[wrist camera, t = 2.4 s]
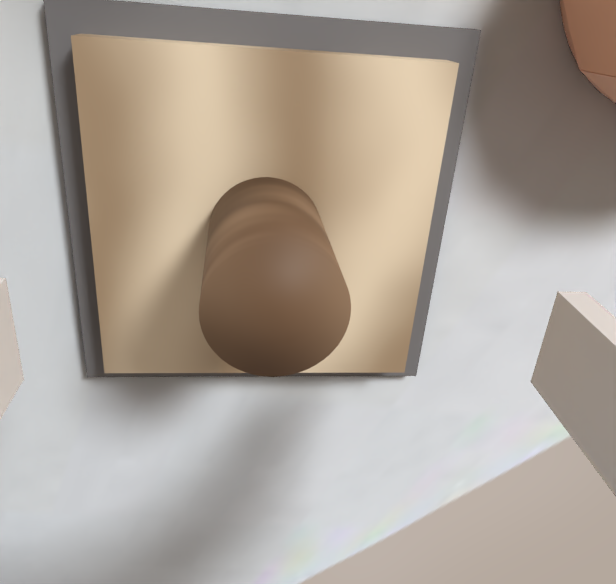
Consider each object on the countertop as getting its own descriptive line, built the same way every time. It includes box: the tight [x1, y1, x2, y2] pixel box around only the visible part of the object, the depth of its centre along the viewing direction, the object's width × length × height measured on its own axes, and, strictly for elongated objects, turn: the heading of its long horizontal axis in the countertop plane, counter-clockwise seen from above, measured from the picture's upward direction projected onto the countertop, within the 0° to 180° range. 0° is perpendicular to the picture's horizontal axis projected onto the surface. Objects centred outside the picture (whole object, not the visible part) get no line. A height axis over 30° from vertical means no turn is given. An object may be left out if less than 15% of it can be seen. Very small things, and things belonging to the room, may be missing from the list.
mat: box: [43, 0, 481, 377], centre depth 22 cm, size 14×14×1 cm
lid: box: [71, 34, 459, 377], centre depth 18 cm, size 12×12×7 cm
